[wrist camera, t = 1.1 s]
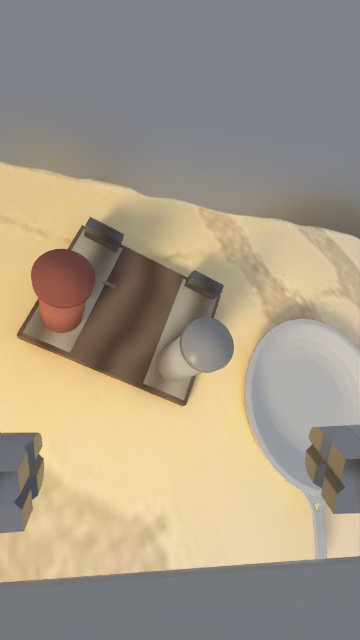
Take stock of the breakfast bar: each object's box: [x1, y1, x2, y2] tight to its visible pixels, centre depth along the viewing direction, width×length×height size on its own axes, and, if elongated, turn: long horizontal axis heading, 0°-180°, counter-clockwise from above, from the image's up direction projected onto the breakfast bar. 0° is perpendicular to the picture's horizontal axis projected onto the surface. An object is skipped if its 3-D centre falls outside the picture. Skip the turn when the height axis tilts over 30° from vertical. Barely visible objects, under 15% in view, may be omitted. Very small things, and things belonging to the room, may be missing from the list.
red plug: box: [31, 249, 95, 333], centre depth 36 cm, size 6×6×11 cm
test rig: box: [17, 217, 224, 406], centre depth 44 cm, size 23×18×4 cm
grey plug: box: [157, 317, 234, 382], centre depth 39 cm, size 6×6×11 cm
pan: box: [245, 319, 360, 559], centre depth 48 cm, size 26×39×5 cm
